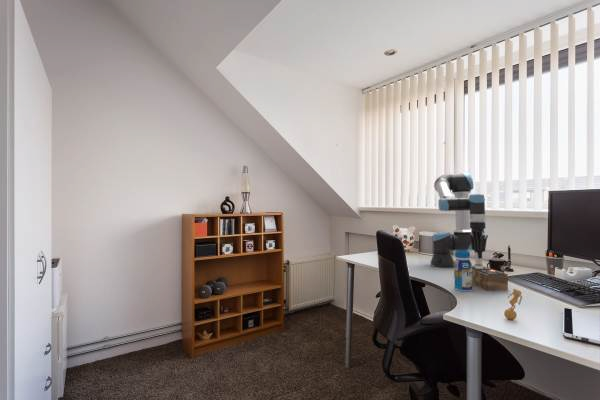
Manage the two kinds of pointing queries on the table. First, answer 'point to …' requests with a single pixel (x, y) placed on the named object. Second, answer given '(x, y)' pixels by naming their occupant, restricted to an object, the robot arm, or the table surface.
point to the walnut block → (489, 279)
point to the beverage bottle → (463, 271)
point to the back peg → (479, 266)
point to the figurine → (510, 312)
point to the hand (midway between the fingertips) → (478, 263)
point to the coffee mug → (496, 264)
